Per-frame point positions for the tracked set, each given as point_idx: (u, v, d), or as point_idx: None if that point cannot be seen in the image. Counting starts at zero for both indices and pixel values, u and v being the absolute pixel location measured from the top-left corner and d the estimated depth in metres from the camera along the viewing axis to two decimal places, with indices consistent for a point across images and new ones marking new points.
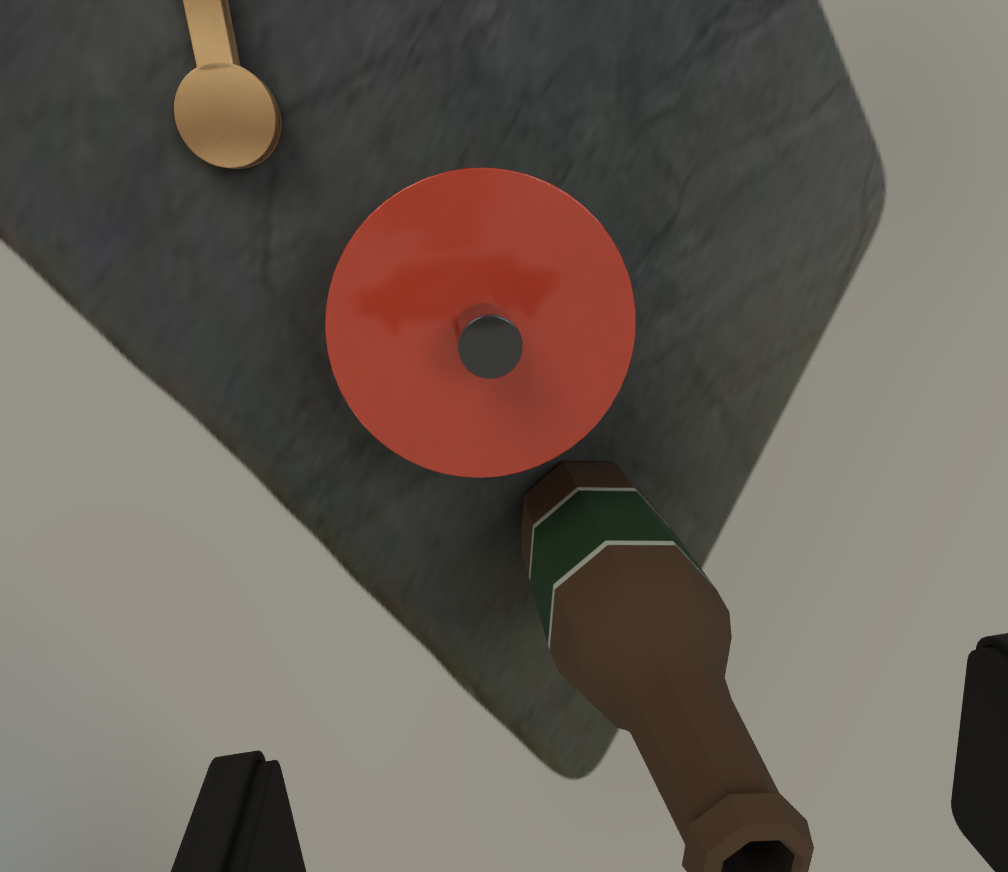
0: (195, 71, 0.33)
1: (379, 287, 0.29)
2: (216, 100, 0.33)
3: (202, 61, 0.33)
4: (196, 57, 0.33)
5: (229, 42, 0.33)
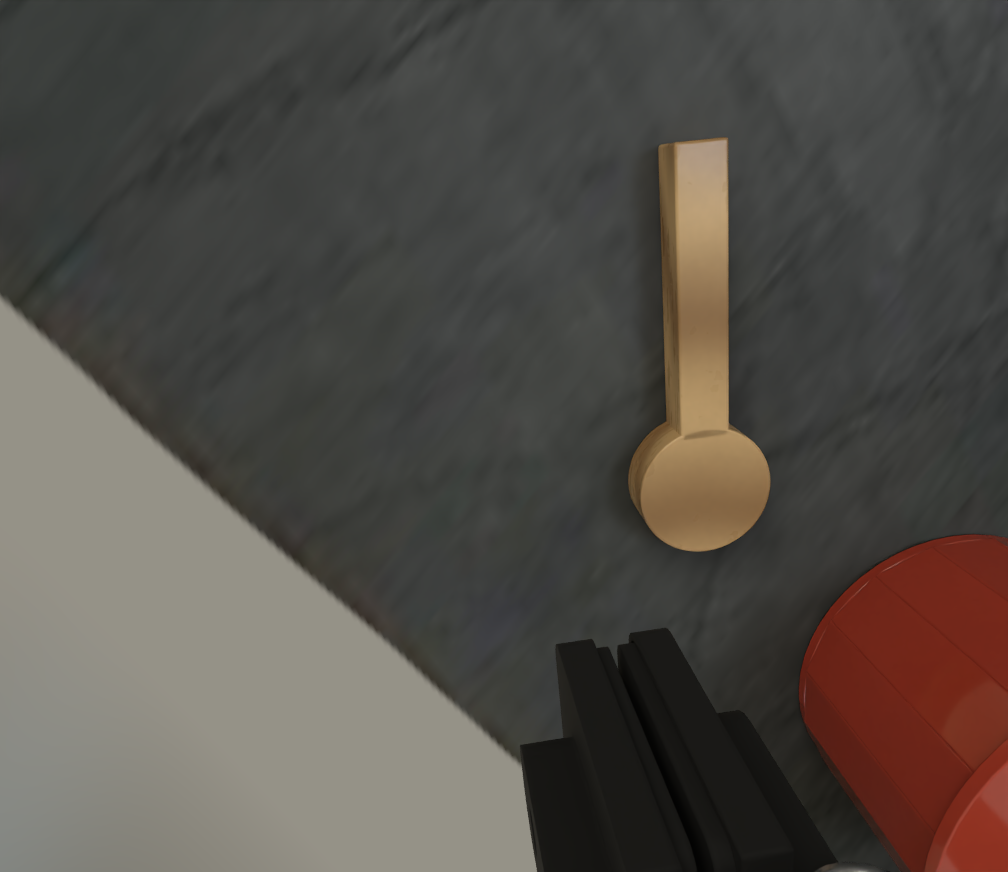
0: (678, 440, 0.24)
1: None
2: (698, 474, 0.24)
3: (690, 429, 0.24)
4: (683, 424, 0.24)
5: (728, 403, 0.24)
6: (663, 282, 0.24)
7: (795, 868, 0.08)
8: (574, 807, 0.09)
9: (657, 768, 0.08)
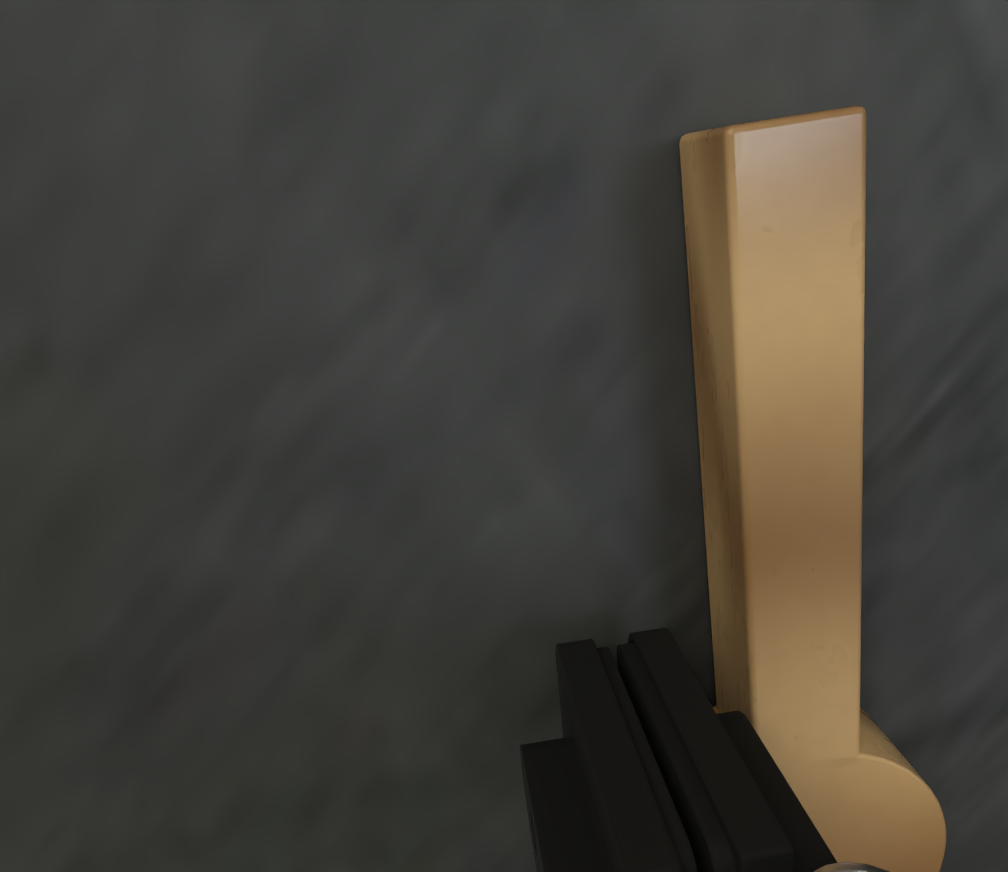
0: None
1: None
2: None
3: (776, 762, 0.11)
4: None
5: (857, 701, 0.11)
6: (702, 443, 0.11)
7: (795, 868, 0.08)
8: (574, 807, 0.09)
9: (657, 768, 0.08)
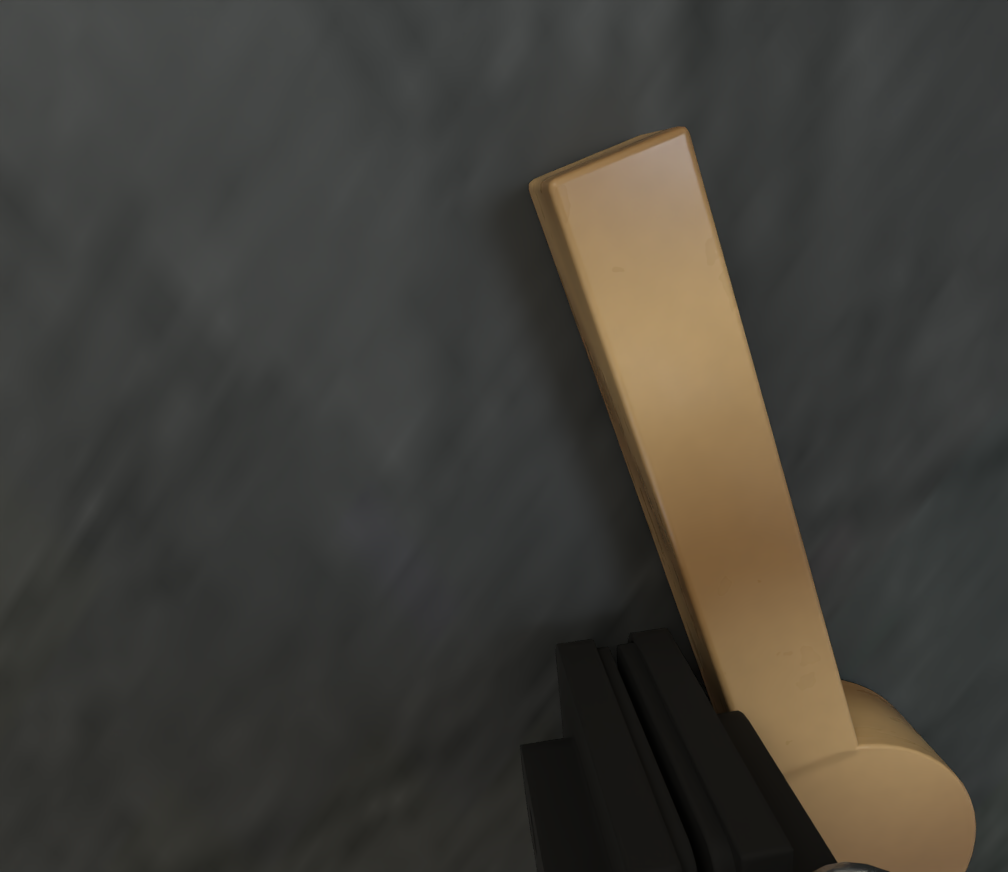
0: None
1: None
2: None
3: None
4: None
5: None
6: (629, 471, 0.10)
7: (795, 868, 0.08)
8: (574, 807, 0.09)
9: (657, 768, 0.08)
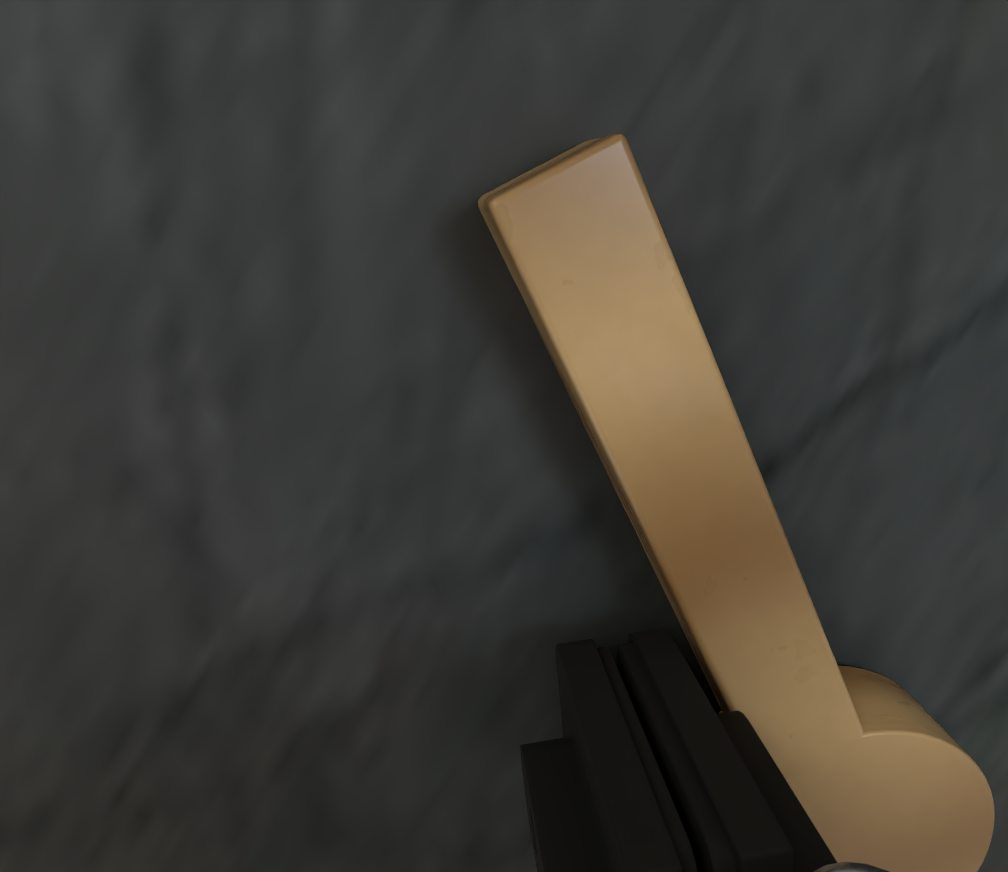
0: None
1: None
2: (830, 832, 0.11)
3: (780, 764, 0.10)
4: None
5: (844, 684, 0.10)
6: (609, 476, 0.10)
7: (794, 868, 0.08)
8: (574, 807, 0.09)
9: (656, 768, 0.08)
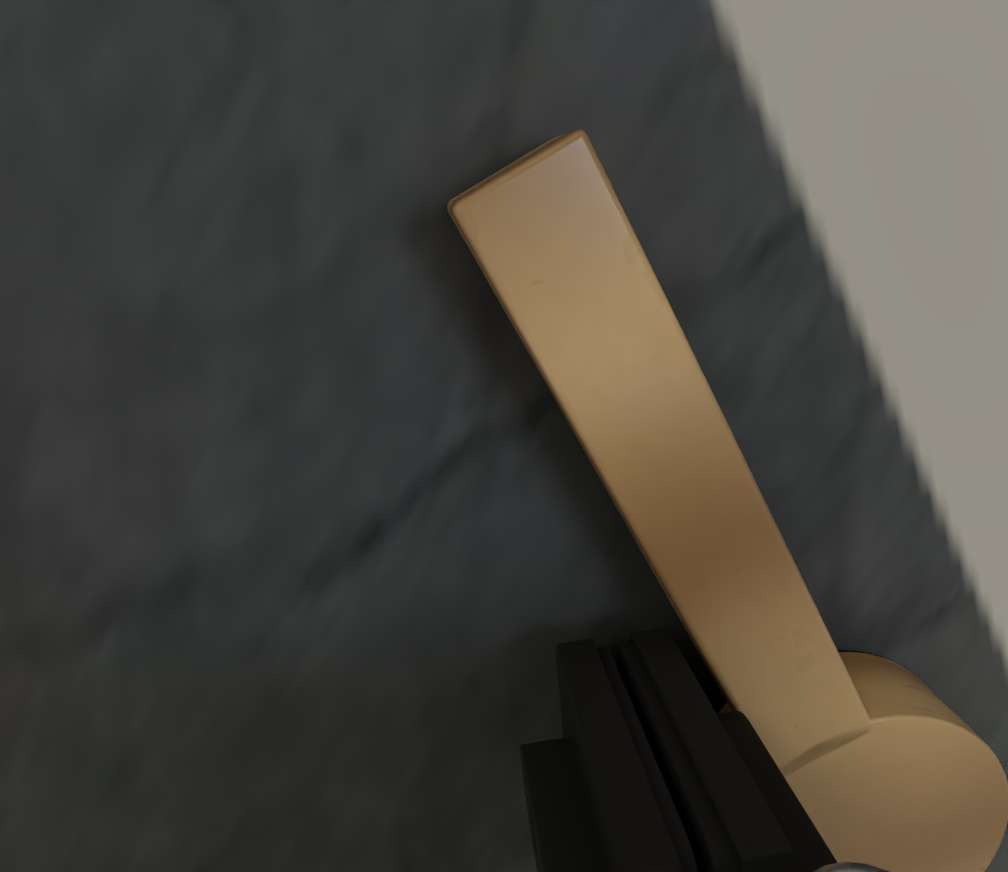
0: None
1: None
2: (841, 820, 0.11)
3: (786, 755, 0.10)
4: None
5: (846, 671, 0.10)
6: None
7: (794, 868, 0.08)
8: (575, 807, 0.09)
9: (656, 768, 0.08)
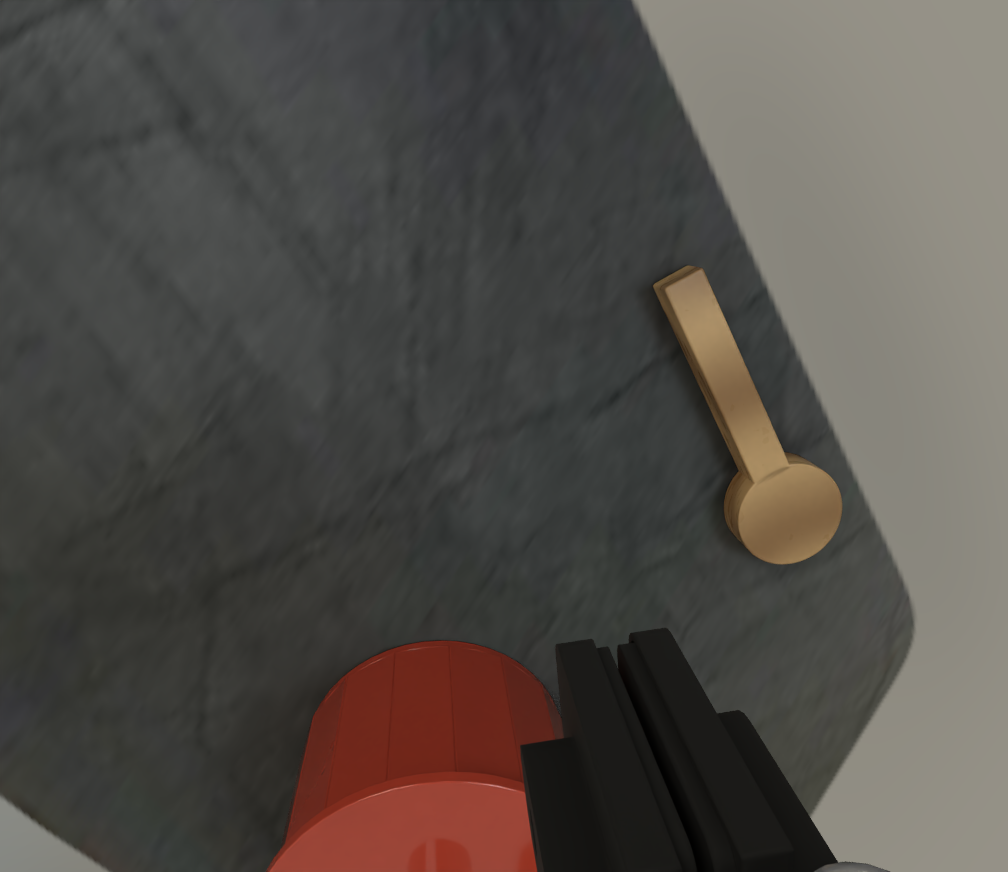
0: (753, 487, 0.30)
1: None
2: (779, 505, 0.30)
3: (759, 476, 0.30)
4: (752, 475, 0.30)
5: (780, 445, 0.30)
6: (695, 376, 0.30)
7: (795, 868, 0.08)
8: (574, 807, 0.09)
9: (657, 768, 0.08)
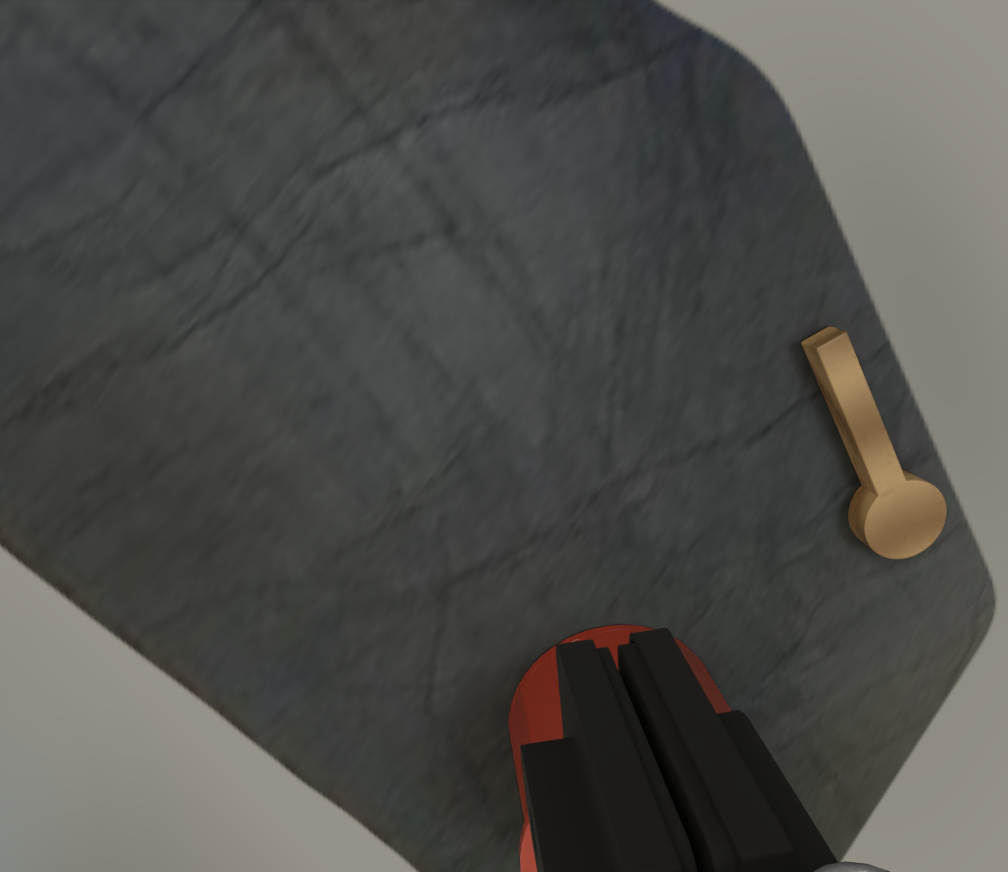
0: (877, 499, 0.38)
1: None
2: (897, 513, 0.38)
3: (883, 490, 0.37)
4: (877, 490, 0.37)
5: (900, 466, 0.37)
6: (831, 412, 0.37)
7: (795, 868, 0.08)
8: (574, 807, 0.09)
9: (657, 768, 0.08)
